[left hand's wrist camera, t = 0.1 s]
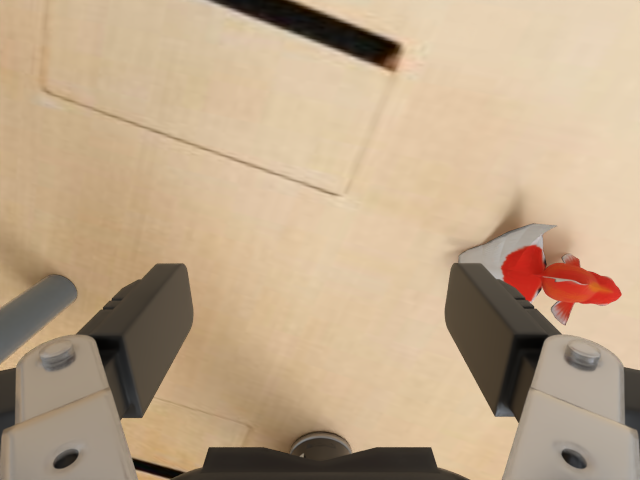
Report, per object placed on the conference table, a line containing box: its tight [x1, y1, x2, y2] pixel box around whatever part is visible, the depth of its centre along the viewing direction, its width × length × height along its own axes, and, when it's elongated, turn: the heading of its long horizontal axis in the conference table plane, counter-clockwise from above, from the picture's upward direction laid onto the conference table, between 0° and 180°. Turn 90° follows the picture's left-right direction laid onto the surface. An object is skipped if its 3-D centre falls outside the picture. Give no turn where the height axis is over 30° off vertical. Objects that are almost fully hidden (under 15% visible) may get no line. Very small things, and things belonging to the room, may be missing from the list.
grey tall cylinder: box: [0, 275, 77, 364], centre depth 37 cm, size 4×4×16 cm
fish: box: [458, 224, 622, 325], centre depth 40 cm, size 11×16×10 cm
